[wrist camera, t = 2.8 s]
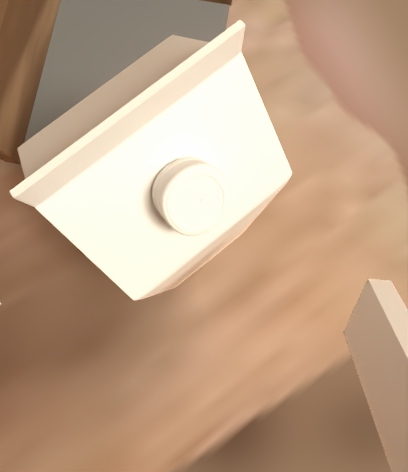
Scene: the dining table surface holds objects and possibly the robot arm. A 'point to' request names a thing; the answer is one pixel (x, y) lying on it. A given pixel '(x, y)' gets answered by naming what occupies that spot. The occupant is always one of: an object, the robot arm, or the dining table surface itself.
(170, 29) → the mat
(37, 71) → the corner walls
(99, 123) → the milk carton
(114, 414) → the dining table surface
